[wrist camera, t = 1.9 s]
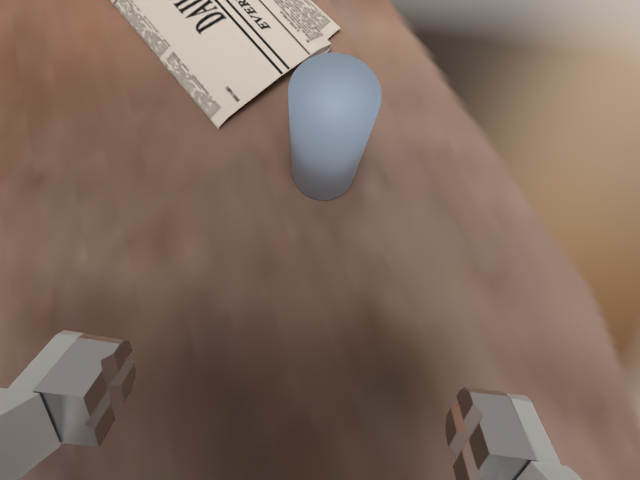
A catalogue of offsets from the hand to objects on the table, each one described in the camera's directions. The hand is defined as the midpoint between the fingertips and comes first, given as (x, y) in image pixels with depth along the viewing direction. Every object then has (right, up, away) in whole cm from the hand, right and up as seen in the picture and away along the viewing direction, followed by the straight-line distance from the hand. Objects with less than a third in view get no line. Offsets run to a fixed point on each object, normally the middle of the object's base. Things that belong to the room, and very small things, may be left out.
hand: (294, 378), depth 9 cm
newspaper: (-9, +23, +21) cm, 33 cm away
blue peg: (+1, +8, +17) cm, 19 cm away
